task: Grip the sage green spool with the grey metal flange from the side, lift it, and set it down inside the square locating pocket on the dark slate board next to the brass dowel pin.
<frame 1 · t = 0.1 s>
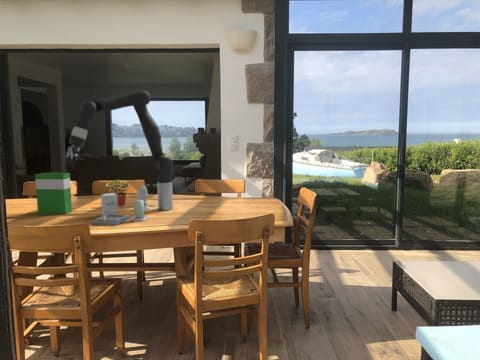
hand: (68, 165, 213), 31 cm above the table, tool tilted 20°, fingers open, 8 cm apart
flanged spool: (139, 219, 224), on the table
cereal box: (55, 212, 244), on the table
chess piece: (141, 209, 253), on the table
supplement box: (110, 215, 236), on the table
locating board: (112, 221, 221), on the table
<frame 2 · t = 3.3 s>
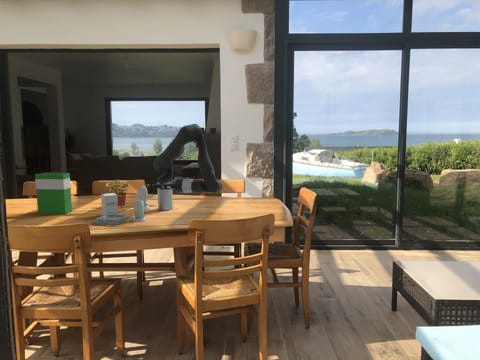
hand: (156, 185, 219), 20 cm above the table, tool horizontal, fingers open, 8 cm apart
nothing on the table moved.
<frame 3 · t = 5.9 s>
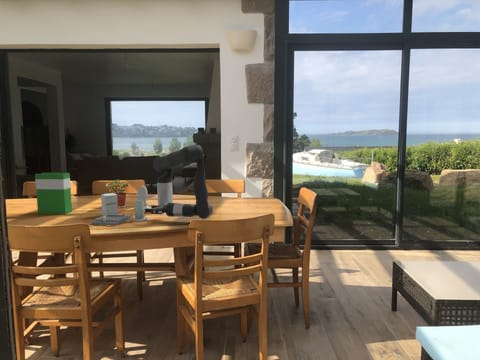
hand: (148, 208, 222), 6 cm above the table, tool horizontal, fingers open, 8 cm apart
nothing on the table moved.
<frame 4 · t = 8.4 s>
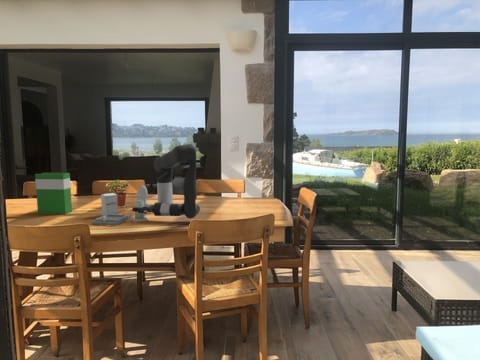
hand: (134, 208, 223), 7 cm above the table, tool horizontal, fingers closed on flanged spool, 5 cm apart
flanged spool: (139, 219, 224), on the table, touching gripper
everything else where it was.
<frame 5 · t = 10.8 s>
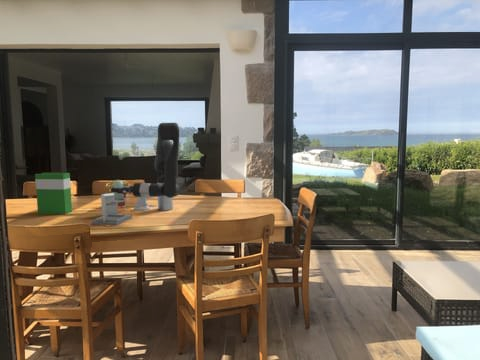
hand: (114, 189, 219), 18 cm above the table, tool horizontal, fingers closed on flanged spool, 5 cm apart
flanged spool: (119, 201, 220), point 11 cm above the table, touching gripper
everything else where it was.
when the fingers open (9 cm above the table, at t = 13.6 s): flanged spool drops 1 cm, resting on locating board.
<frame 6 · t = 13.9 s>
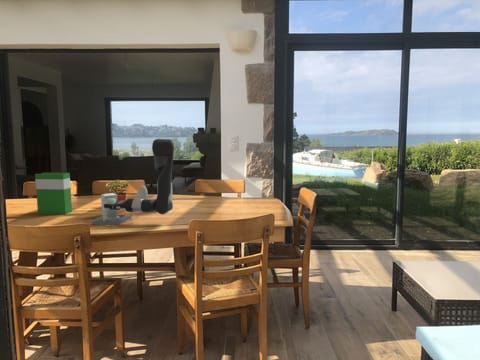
hand: (108, 204, 220), 10 cm above the table, tool horizontal, fingers open, 8 cm apart
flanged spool: (112, 218, 220), point 1 cm above the table, touching locating board
everything else where it was.
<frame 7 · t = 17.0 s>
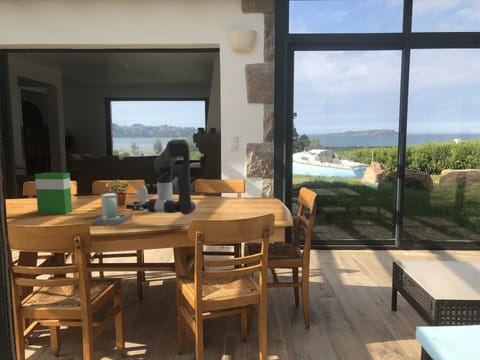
hand: (130, 205, 217), 10 cm above the table, tool horizontal, fingers open, 8 cm apart
nothing on the table moved.
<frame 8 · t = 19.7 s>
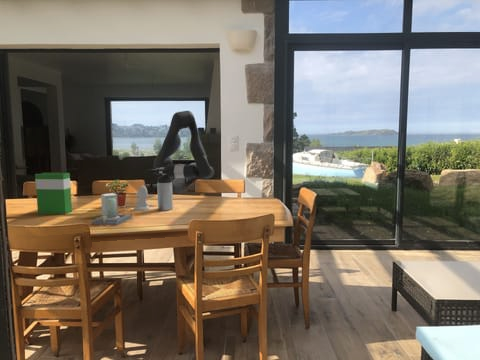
hand: (149, 170, 219), 28 cm above the table, tool horizontal, fingers open, 8 cm apart
nothing on the table moved.
at the end: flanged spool 0.1 cm off-centre on the locating board, point 1.5 cm above the locating board's base; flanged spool tilted 0°; the gripper is holding nothing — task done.
